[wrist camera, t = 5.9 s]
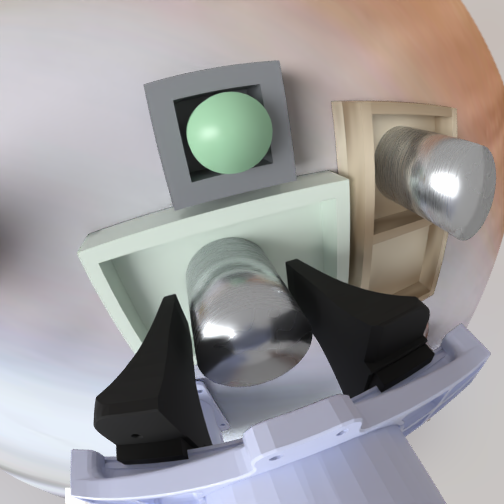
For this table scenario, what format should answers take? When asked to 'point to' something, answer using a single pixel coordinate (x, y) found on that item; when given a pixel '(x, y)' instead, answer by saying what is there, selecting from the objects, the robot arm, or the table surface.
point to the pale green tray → (210, 229)
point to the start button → (229, 132)
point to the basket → (72, 498)
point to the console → (176, 117)
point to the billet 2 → (437, 178)
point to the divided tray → (387, 200)
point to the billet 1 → (243, 315)
